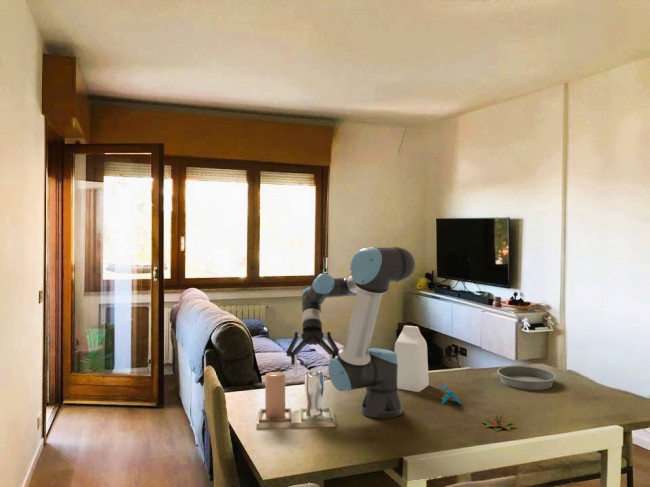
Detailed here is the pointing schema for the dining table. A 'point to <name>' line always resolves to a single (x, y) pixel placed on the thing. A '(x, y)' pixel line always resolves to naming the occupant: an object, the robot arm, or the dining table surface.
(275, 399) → the tan tall block
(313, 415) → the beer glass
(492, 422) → the lily flower
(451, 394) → the toy gun
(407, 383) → the milk
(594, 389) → the dining table surface
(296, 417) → the board
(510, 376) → the cake pan
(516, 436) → the dining table surface
